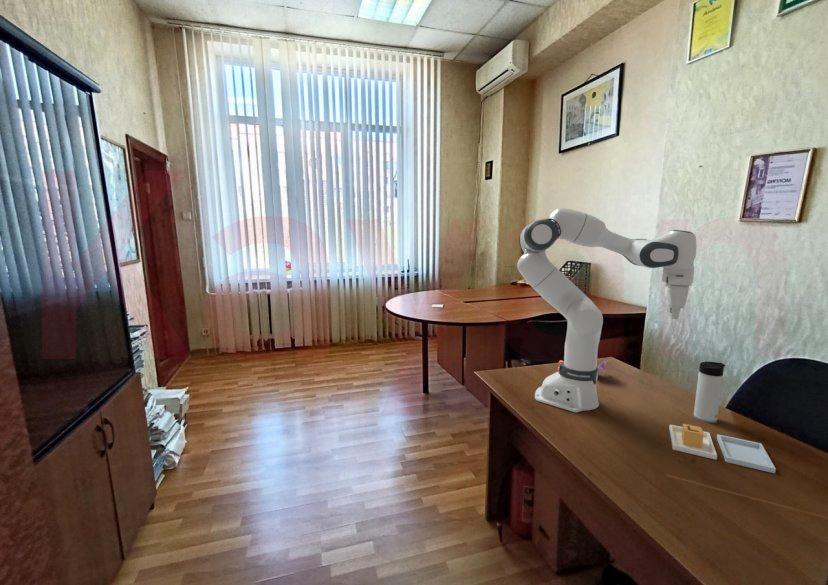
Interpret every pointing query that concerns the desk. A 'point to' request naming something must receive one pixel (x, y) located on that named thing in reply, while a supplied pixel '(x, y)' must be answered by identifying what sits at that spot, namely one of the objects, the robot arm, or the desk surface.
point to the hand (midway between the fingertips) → (673, 315)
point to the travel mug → (708, 391)
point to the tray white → (678, 445)
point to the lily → (602, 367)
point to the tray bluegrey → (745, 453)
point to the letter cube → (692, 436)
